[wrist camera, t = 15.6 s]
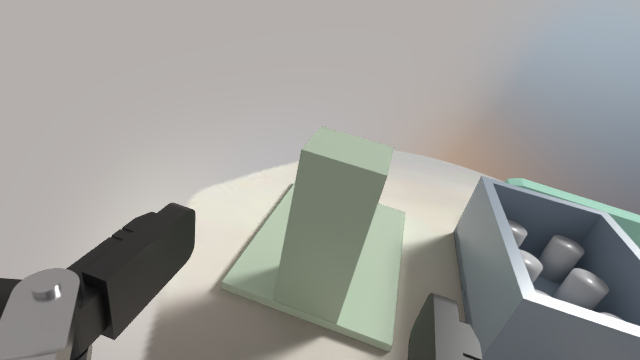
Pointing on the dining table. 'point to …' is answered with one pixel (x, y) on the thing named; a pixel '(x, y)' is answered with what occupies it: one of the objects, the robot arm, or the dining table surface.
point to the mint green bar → (630, 223)
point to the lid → (330, 243)
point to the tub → (546, 277)
